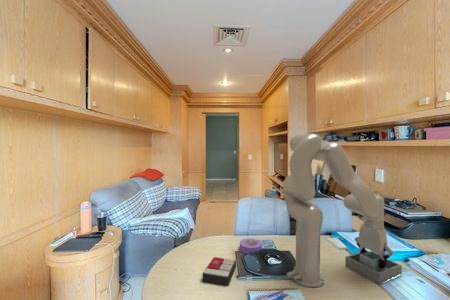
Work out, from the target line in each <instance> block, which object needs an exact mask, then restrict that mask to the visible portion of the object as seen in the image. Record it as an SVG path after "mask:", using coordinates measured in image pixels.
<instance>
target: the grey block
mask: <svg viewBox="0 0 450 300" xmlns="http://www.w3.org/2000/svg"><path fill="white" fill-rule="evenodd" d="M368 251H369V252H366V253H363V254H360V263H361V264H363V265H365V266H367V267H369V268H371V269H373V270H375V271H377V272H381V271H384V270H385V268H382V269H380V268H379V259H381V258H380V256H379V254H378V253H376V252H373V251H371V250H368Z"/></svg>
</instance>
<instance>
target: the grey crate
mask: <svg viewBox="0 0 450 300" xmlns="http://www.w3.org/2000/svg"><path fill="white" fill-rule="evenodd" d="M366 251H367V252H369V251H370V250H369V249H366ZM344 260H345V263H344V265H345V267H346V268H347V269H349V270H351V271H353V272H355V273H356V274H359V275H360V276H362V277H364V278H366V279H367V280H370V281H372V282H373V283H375V284H376V285H378V286H381V285H382V284H381V283H383V282H385V281H387V280H388V279H391V278H392V277H395V276H397V275H399V274H402V273H403V271H402V269H403V266H402V264H400V263H398V262H395V261H393V260H391V259H389V258H387V259H386V267H385V270H384V271H381V272H377V271H375V270H373V269H371V268H369V267H367V266H365V265H363V264H361V263H360V251H359V252H356V253H353V254H349V255H346V256H345V259H344ZM380 284H381V285H380ZM383 284H384V283H383Z"/></svg>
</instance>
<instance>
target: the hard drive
mask: <svg viewBox="0 0 450 300" xmlns="http://www.w3.org/2000/svg"><path fill="white" fill-rule="evenodd" d="M337 238H338V237H327V238H326V241H328V243H330V244H331V245H332V246H334V247H335V248H336V249H338V250H339V251H342V250H343V251H345V250H346V248H347V247H346V246H345V245H344V244H343V243H342V242H341V241H340V240H339V239H337ZM346 251H347V250H346Z"/></svg>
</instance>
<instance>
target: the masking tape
mask: <svg viewBox="0 0 450 300" xmlns="http://www.w3.org/2000/svg"><path fill="white" fill-rule="evenodd" d="M262 243H263V242H261V240H259V239H256V238H250V237H247V238H243V239H240V241H239V251H240V253H242V252H243V253H242V254H244V253H249V252H255V251H259V250H261V249H262V250H263V247H262V246H263V244H262Z"/></svg>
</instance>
